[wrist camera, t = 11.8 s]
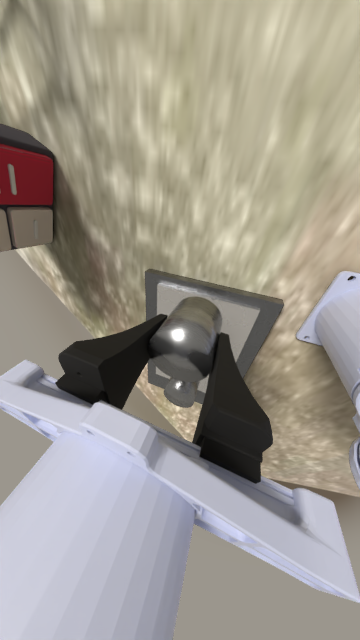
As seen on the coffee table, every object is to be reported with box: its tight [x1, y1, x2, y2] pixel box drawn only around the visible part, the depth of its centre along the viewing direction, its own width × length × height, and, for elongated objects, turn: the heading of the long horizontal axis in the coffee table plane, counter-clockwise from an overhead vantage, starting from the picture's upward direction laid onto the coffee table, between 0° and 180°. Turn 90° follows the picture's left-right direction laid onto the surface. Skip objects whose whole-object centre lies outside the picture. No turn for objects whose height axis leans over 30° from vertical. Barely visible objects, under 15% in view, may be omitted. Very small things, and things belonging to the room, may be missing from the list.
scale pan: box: [156, 283, 260, 393], centre depth 24 cm, size 12×18×1 cm, turn 174°
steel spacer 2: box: [164, 377, 200, 408], centre depth 25 cm, size 4×4×5 cm
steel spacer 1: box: [148, 296, 222, 382], centre depth 13 cm, size 4×4×5 cm
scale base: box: [145, 269, 284, 404], centre depth 26 cm, size 16×24×2 cm, turn 174°
